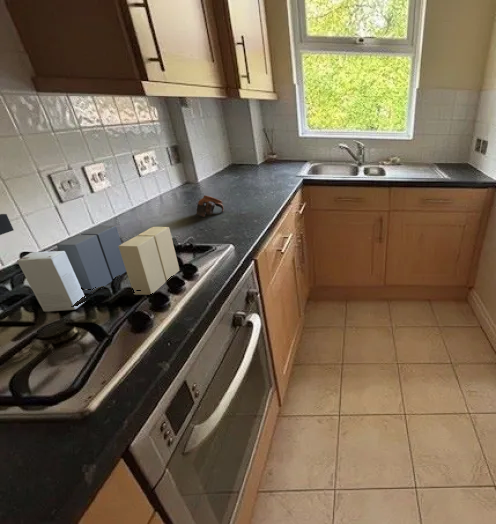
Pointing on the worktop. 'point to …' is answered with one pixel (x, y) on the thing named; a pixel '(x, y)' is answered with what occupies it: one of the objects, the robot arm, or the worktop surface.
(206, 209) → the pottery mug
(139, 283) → the cream boxes
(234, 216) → the worktop surface
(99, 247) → the grey books
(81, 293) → the cosmetic box
